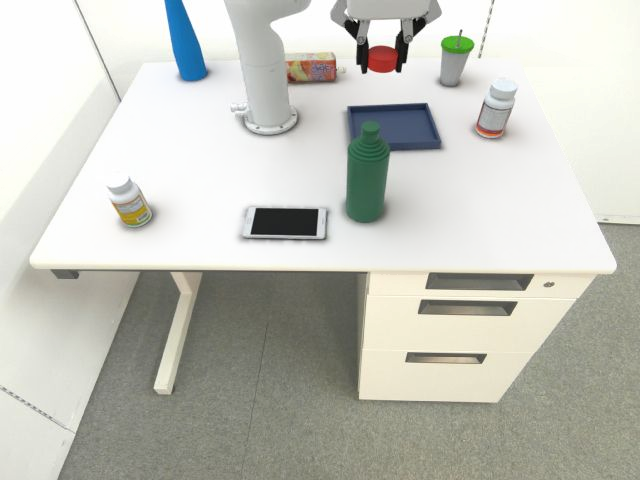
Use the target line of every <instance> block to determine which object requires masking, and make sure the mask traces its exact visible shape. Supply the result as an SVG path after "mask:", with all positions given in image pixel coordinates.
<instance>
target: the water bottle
mask: <svg viewBox="0 0 640 480" xmlns="http://www.w3.org/2000/svg"><path fill="white" fill-rule="evenodd" d="M379 132H380V126H379V124H378V123H377V122H374V121H367V122H364V123H363V124H362V126H361V136H359V137H357V138H355V139H354V140H353V141H352V142H351V141H350V143H349V144H348V146H347V153H346V154H347V155H346V190H345V191H346V193H345V212H346V214H347V216H348V217H349V218H350V219H351V220H353V221H355V222H357V223H361V224H369V223H373V222H376V221H377V220H379V219H380V218H381V216H382V215H383V212H384V206H385V205H384V203H385V196H386V188H387V182H388V181H387V179H388V173H389V167H390V166H389V165H390V164H389V163H390V158H391V151H390V147H389V145H388V143H387V142H386V141H385V140H383V139H382V138H381V137H379Z"/></svg>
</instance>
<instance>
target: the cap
mask: <svg viewBox="0 0 640 480" xmlns="http://www.w3.org/2000/svg"><path fill="white" fill-rule="evenodd" d="M397 58H398V53H397V50H396V49H395V47H391V46H388V45H373V46H371V47H369V56H368V70H370V71H372V72H374V73H379V74H387V73H388V74H389V73H392V72H394V71H395V68H396V64H397Z"/></svg>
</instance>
